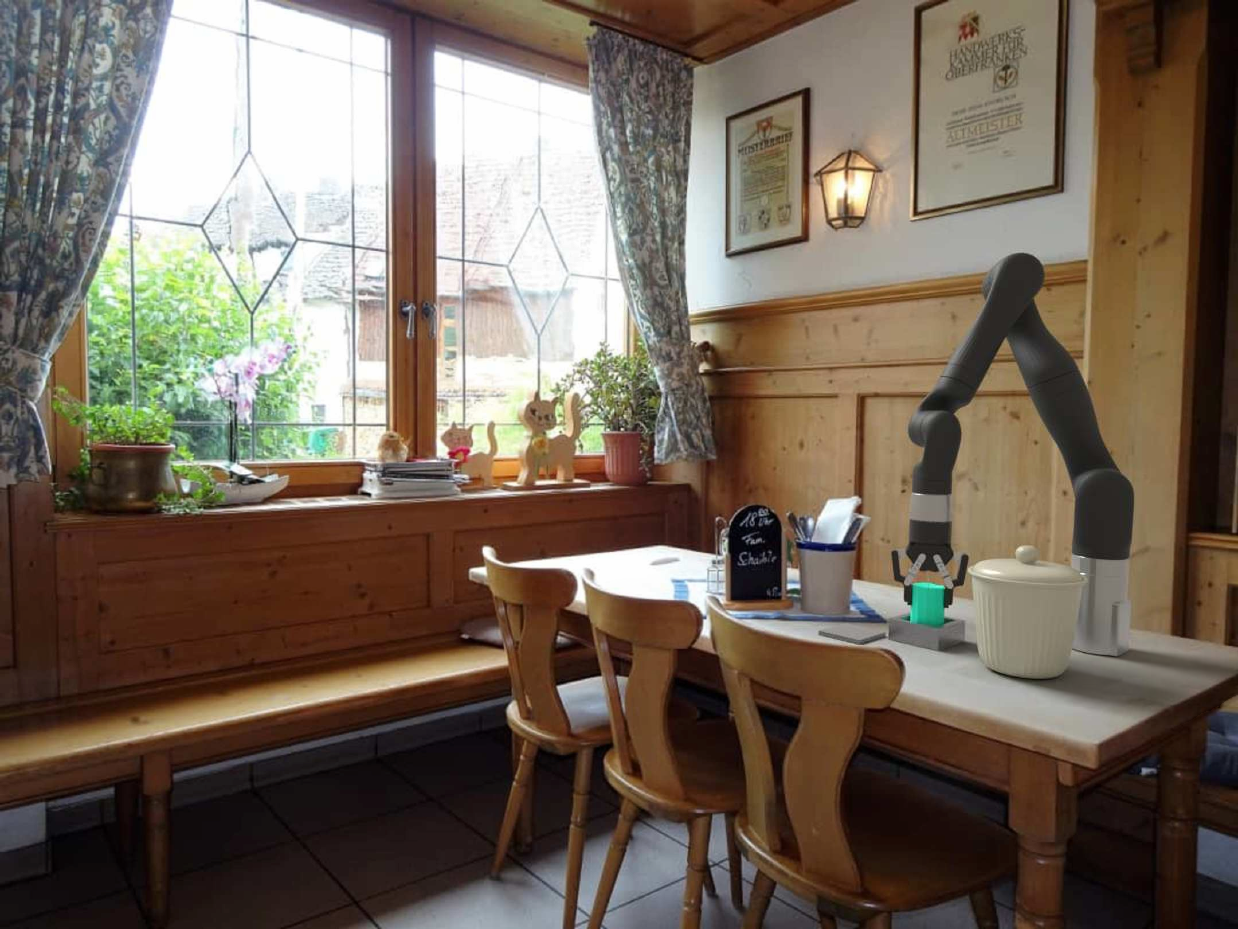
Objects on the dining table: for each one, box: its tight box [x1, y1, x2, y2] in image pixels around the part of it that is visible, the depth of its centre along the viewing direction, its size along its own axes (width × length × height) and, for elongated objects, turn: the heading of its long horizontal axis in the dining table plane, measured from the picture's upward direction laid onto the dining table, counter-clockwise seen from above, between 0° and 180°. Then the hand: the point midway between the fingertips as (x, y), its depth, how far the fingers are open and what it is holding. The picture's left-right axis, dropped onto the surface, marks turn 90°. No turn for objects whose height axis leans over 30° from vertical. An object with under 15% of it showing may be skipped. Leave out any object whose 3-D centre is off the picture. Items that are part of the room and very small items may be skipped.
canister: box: [967, 545, 1088, 680], centre depth 144 cm, size 18×18×21 cm
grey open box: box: [887, 611, 966, 651], centre depth 163 cm, size 10×10×4 cm
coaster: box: [817, 623, 887, 645], centre depth 166 cm, size 9×9×1 cm
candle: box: [910, 576, 946, 627], centre depth 163 cm, size 6×6×12 cm
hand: (927, 605), depth 163 cm, fingers closed on candle, 6 cm apart
